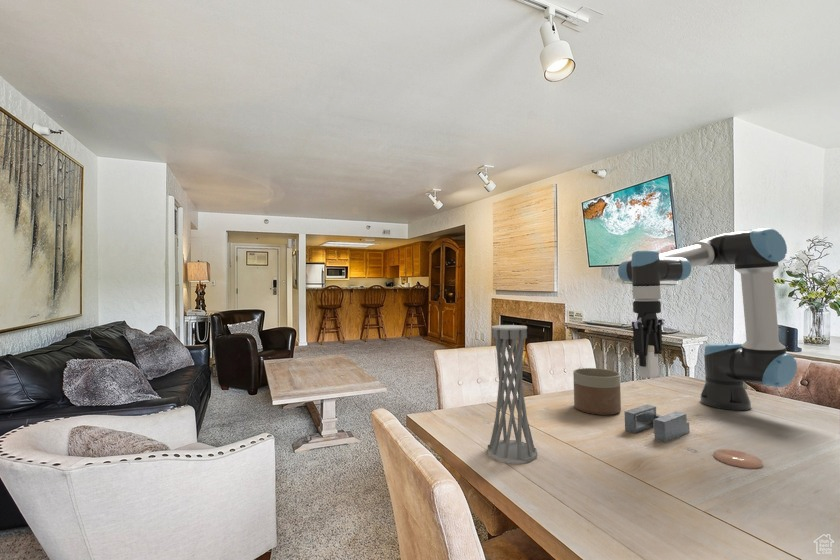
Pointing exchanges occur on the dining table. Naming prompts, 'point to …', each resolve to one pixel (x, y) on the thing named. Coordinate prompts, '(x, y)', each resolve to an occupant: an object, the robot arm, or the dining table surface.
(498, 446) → the grey tall lattice tower
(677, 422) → the vise
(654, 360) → the pepper shaker
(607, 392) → the planter
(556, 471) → the dining table surface
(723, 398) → the robot arm
